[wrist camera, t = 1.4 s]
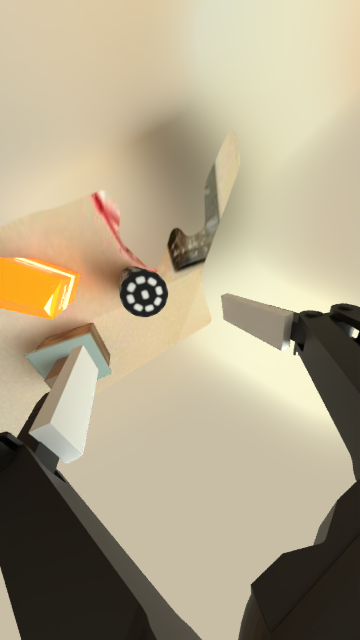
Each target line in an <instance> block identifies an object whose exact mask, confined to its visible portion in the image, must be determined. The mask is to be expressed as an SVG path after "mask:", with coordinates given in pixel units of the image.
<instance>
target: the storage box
mask: <svg viewBox="0 0 360 640" xmlns="http://www.w3.org/2000/svg"><path fill="white" fill-rule="evenodd" d="M88 332H90V334H91V335H92V337H93V339H94V341H95V343H96V344H97V346H98V348H99V350H100V352H101V353H102V355H103V357H104V359H105V361H106V363H107V364H108V366H109V362H110V354H109V352H108V350H107V348H106V346H105V344H104V342H103V340H102V339H101V337H100V335H99V333H98V331H97V329H96V327H95V325H94V323H91V324H88V325H85V326H82V327H79V328H76V329H73V330H70V331H66V332H63V333H60V334H57V335H54V336H51V337H48V338H46V339H45V340H44V341H43V342H42V343H41V344H40V345H39V347H38V348H37V349H36V350H38V349H41V348H43V347H46V346H49V345H52V344H55V343H58V342H61V341H64V340H67V339H70V338H73V337H76V336H79V335H82V334H85V333H88Z"/></svg>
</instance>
